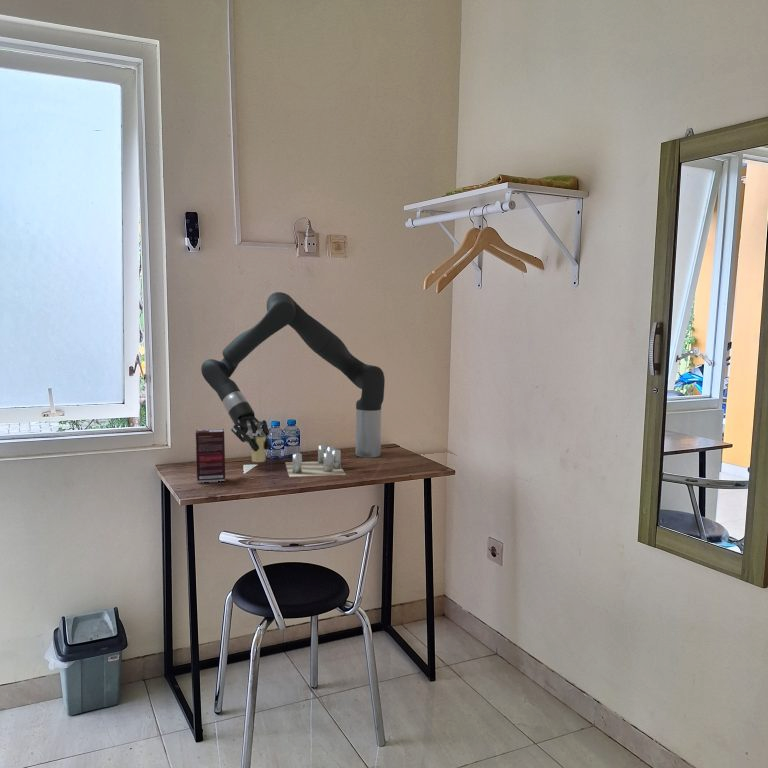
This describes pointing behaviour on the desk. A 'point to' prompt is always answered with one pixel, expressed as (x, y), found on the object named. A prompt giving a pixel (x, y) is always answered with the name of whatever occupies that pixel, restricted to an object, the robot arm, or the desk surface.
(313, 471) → the board
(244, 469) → the off-white mat
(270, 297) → the robot arm
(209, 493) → the desk surface
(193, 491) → the desk surface
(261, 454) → the tan faceted block
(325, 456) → the posts
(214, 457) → the supplement box
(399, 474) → the desk surface
